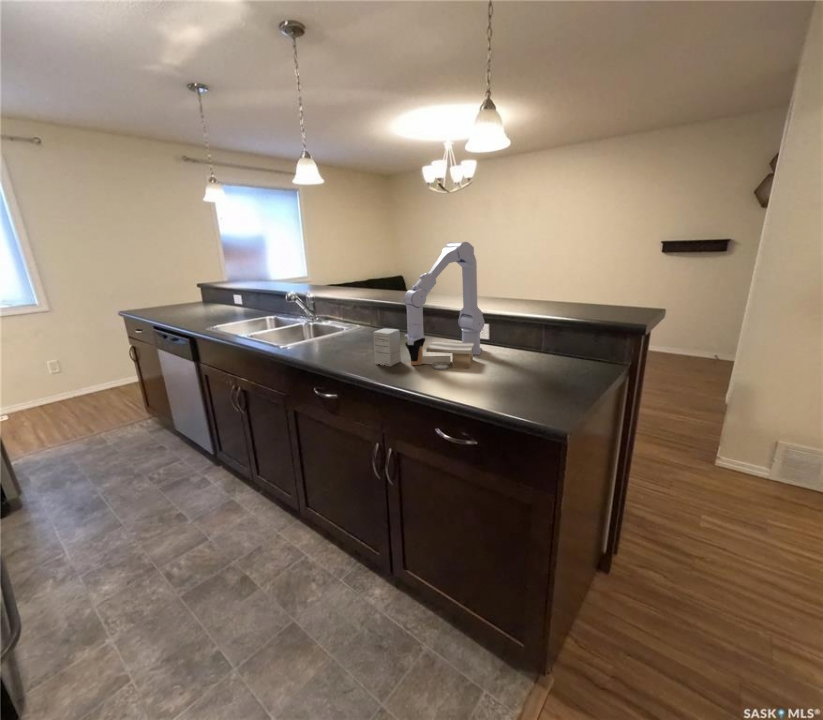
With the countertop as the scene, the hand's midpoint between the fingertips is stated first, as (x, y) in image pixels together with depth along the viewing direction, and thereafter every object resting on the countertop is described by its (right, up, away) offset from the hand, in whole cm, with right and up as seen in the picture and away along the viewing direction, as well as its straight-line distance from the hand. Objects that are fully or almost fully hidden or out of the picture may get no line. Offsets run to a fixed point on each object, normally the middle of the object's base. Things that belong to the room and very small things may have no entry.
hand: (416, 359), depth 144 cm
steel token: (+9, -3, -5) cm, 10 cm away
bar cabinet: (+13, -1, 0) cm, 13 cm away
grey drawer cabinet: (-11, -2, +3) cm, 11 cm away
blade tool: (+6, -1, 0) cm, 6 cm away
